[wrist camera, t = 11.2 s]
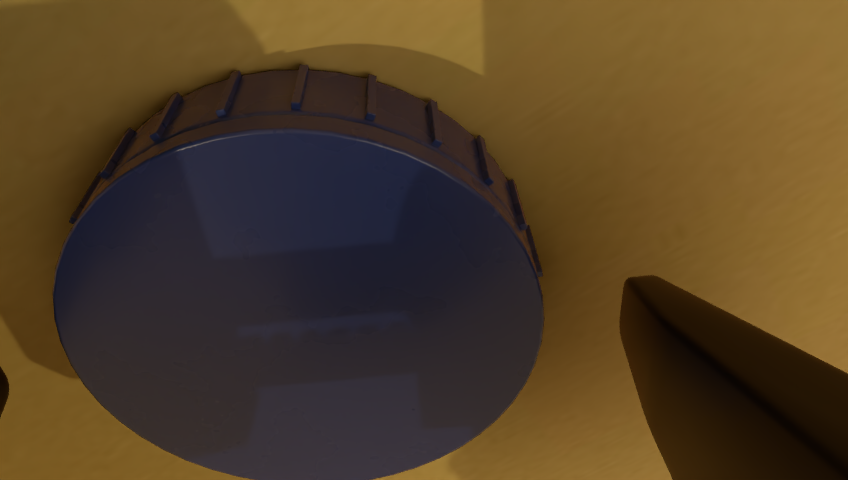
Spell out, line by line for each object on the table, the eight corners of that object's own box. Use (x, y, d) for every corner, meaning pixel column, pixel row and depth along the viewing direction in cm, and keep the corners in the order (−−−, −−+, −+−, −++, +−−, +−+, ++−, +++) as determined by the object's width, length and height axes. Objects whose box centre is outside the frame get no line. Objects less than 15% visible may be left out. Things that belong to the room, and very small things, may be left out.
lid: (168, 422, 13) (143, 504, 12) (13, 88, 9) (-53, 154, 8) (526, 389, 13) (543, 468, 12) (530, 38, 9) (556, 97, 8)
